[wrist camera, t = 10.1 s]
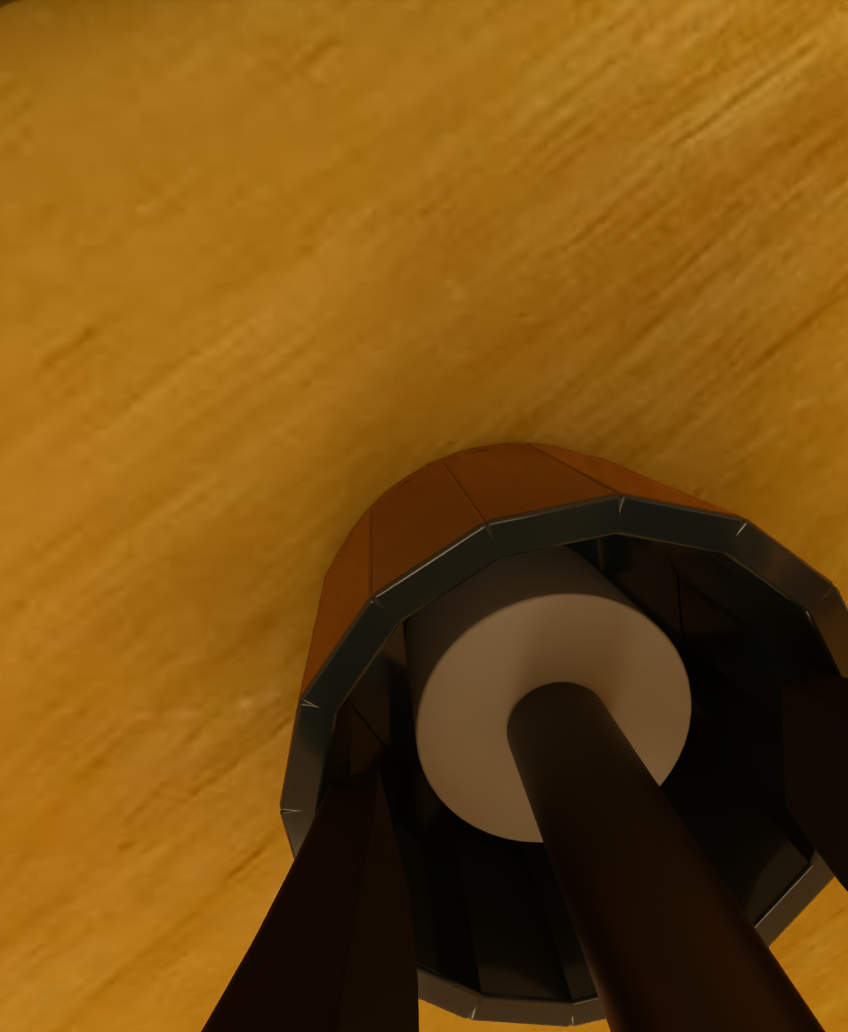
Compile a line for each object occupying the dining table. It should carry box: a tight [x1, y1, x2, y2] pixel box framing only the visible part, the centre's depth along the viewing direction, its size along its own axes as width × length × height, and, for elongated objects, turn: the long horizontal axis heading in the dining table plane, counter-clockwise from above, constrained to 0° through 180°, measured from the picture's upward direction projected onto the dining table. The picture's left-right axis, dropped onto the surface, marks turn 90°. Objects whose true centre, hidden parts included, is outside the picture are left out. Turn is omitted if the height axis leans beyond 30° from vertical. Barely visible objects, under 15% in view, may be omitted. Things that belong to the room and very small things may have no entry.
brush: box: [405, 546, 825, 1032], centre depth 8 cm, size 4×4×8 cm
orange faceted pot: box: [280, 443, 848, 1027], centre depth 10 cm, size 8×8×5 cm
